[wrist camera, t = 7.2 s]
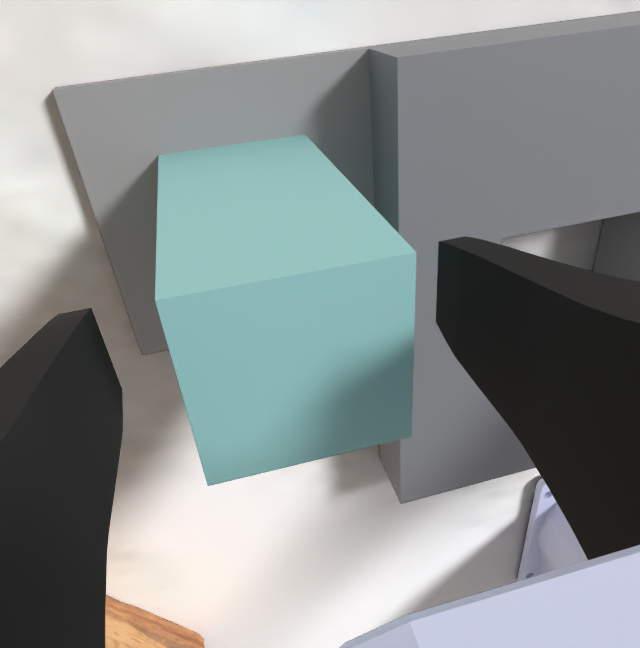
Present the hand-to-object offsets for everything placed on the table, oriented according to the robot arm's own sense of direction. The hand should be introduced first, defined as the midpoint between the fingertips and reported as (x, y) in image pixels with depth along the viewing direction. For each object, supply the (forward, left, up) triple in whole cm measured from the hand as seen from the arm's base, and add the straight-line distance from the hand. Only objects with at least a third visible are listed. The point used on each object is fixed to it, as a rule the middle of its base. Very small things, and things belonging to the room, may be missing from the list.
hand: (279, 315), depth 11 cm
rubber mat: (0, 0, -6) cm, 6 cm away
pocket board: (-4, -10, -6) cm, 12 cm away
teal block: (0, 0, -6) cm, 6 cm away
